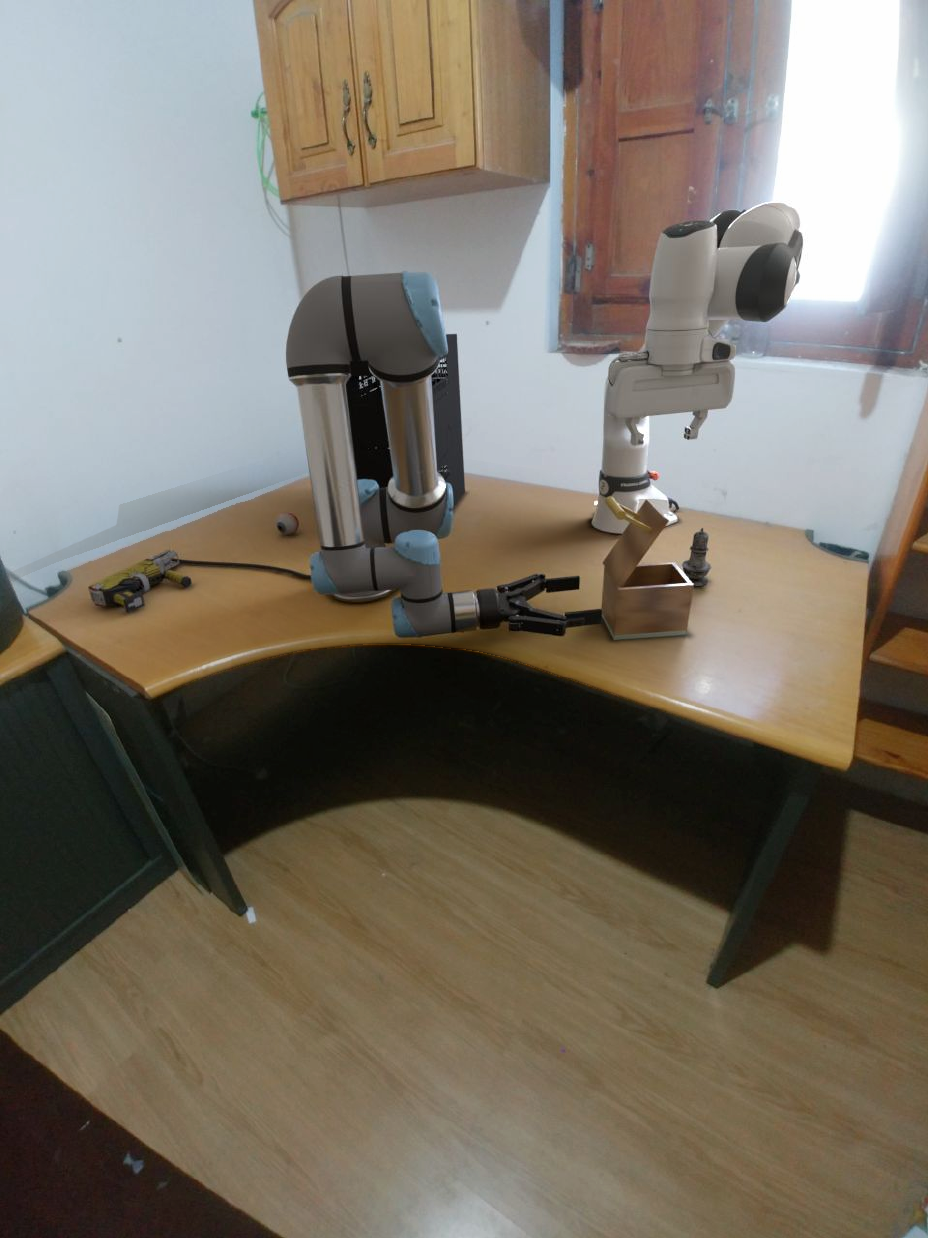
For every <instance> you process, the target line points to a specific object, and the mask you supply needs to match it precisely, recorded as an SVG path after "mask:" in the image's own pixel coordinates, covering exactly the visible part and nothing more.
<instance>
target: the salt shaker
mask: <svg viewBox="0 0 928 1238" xmlns="http://www.w3.org/2000/svg"><path fill="white" fill-rule="evenodd" d="M708 543H709V534H708V533H707V532H706V531H705V529H704V527H701V528H700V530H699V531H697V532H695V533H694V534H693V539H692V545H691V546H690V547H689V549H690V556H689V558H688V559H685V560H684V561H683V562H682V563H681V566H682V571H683V573H684V574H685V575H686V576H687V577H688V578H689V580H690V581H691V582H692V583H693V584H694V587H702V586H705V585H707V584H708V579H707V578H706V576H707V575H708V574H709V572H710V571H711V569H712V565H711V563H709V561H706V558H707V552H709V548H708Z"/></svg>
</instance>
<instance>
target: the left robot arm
mask: <svg viewBox="0 0 928 1238" xmlns="http://www.w3.org/2000/svg"><path fill="white" fill-rule="evenodd" d="M439 292H440V291H439V288H438V283H437V280H436V278H435V277H434V276H433V275H432V273H429V272H425V271H417V272H414V271H413V272H412V271H411V272H409V271H407V270H402V271H401V272H390V273H389V272H387V273H374V274H357V275H334V276H329V277H327V278H324V279H321V280H320V281H319V282H317V283H315V284H314V285H312V287H311V288H310V289H308V290H307V292H306V293H305V295H304V296H303V297H302V298H301V300H300V302H299V303H298V305H297V307H296V309H295V311H294V314H293V316H292V319H291V321H290V325H289V327H288V333H287V337H286V343H285V344H286V347H285V364H286V371H287V377H288V381H289V382H291V384H293V385H294V386H295V388H296V392H297V397H298V398H297V399H298V406H299V413H300V419H301V426H302V432H303V434H302V435H303V440H304V447H305V453H306V460H307V465H308V474H309V480H310V481H309V482H310V486H311V487H310V488H311V494H312V501H313V506H314V515H315V520H316V527H317V533H318V540H319V546H320V550H319V551H318V552H317V551H316V552H313V553H312V554H311V556H310V559H309V560H310V561H309V568H310V569H309V570H310V574H305V573H302V572H298V571H295V570H292V569H289V568H284V567H280V566H279V567H278V566H272V565H265V564H256V563H245V562H244V563H243V562H226V561H205V560H191V559H182V558H178V559H179V564H189V565H199V566H201V565H202V566H217V567H219V566H220V567H239V568H250V569H251V568H254V569H261V570H262V569H263V570H270V571H275V572H281V573H286V574H291V575H293V576H296V577H299V578H301V579H308V580H311V583H312V588H313V590H314V591H315V592H316V593H317V594H319V595H330V596H331V597H332V598H333V599H335V600H336V601H339V602H343V603H348V604H351V603H352V604H363V603H364V604H365V603H370V602H375V601H378V600H381V599H384V598H386V597H388V596H390V595H391V594H393V593H394V592H396V591H397V590H400V596H398V597H394V598H393V599H392V600H391V602H390V603H391V617H392V626H393V632H394V634H395V636H396V637H398V638H400V639H408V638H410V639H411V638H418V639H419V638H422V637H430V636H438V635H446V634H455V633H461V634H463V633H466V632H467V633H468V632H476V631H477V630H478V629H480V630H481V631H488V630H497V629H499V628H500V627H501V624H502V623H508V632H513V633H514V632H525V633H533V634H538V635H539V634H541V635H547V636H555V637H565V636H566V633H567V629H569V628H570V629H571V628H578V627H586V626H595V625H602V620H603V618H602V610H601V608H596V609H585V610H576V611H565V612H564V615H563V614H559V613H555V612H551V611H547V610H545V609H544V610H543V609H539V608H536V607H533V605H532V604H530V603H528V601H529V600H531V599H533V598H535V597H536V596H538V595H540V594H541V593H543V592H544V591H545V592H546V594H549V593H560V592H569V591H578V590H580V584H581V582H580V581H581V577H580V575H572V576H571V575H569V576H561V577H552V578H546V574H544V573H534V574H531V575H528V576H525V577H523V578H520V579H518V580H517V579H516V580H514V581H512V582H509V583H505V584H499V585H496V588H494V587H489V588H481V589H479V588H478V589H477V590H475V592H474V591H473V589H468V590H460V591H452V592H450V591H449V592H444V591H443V577H442V576H443V575H442V559H441V553H440V546H439V540H442V539H446V538H447V537H449V535H450V534H451V532H452V528H453V523H454V522H453V521H454V509H453V491H452V486H451V484H449V483H446V482H445V481H444V479H443V477H442V476H441V474H440V473H438V472H439V471H438V472H437V463H436V447H435V430H434V414H433V398H432V382H431V375H432V374H433V373H434V372H435V371H436V370H437V368H438V367H440V364H439V357H442V356H443V355H446V354H447V353H448V346H447V339H446V334H447V333H446V329H445V321H444V316H443V310H442V304H441V297H440V293H439ZM350 361H368V366H369V369H370V371H371V373H372V374H373V375H374V376H375V377H376V378H378V379H380V384H381V391H382V398H383V405H384V412H385V419H386V426H387V433H388V440H389V447H390V454H391V461H392V468H393V477H392V478H391V479H390V481H389V484H388V487H384V488H379V485H378V484H377V482H376V481H375V480H371V479H370V480H367V479H361V480H357V473H356V465H355V457H354V449H353V440H352V432H351V424H350V416H349V408H348V400H347V392H346V383H347V381H348V380H349V379H350V377H351V370H350ZM374 376H373V377H374ZM375 377H374V378H375ZM386 544H394V545H392V546H386ZM171 561H173V563H174V562H178V560H177V558H176V557H174V558H172V559H171Z"/></svg>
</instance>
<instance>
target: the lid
mask: <svg viewBox="0 0 928 1238" xmlns="http://www.w3.org/2000/svg"><path fill="white" fill-rule="evenodd" d="M605 503H606V505H607V506H608V507H609V509H610V510H611V511H612V513H613V514H614V515H615V516H616V518H617V519H618V520H623V519H624V520H626V521H628V522H630V523H629V525H628V526H627V528H626V529H625V531H624V532H623V534H621V535H620V536H619V537H618V539H617V540H616V542H615V544H614V545H613V547H612V548H611V550H610V551H609V553H608V554H607V555H606V557H605V558H604V559H603V561H602V565H603V566H604V567H605V568H606V570H607V571H608V573H609V575H610V576H611V578H612V580H613V581H614V583H615V585H616V586H617V587H620V588H621V587H622V586H623V584H624V583H625V582H626V580H627V579H628V577H629V576H630V575H631V573H632V572H633V570H634V569H635V568H636V566H637V565H640V562H641V561H642V559H643V558H644V557H645V555H646V554H647V552H648V551H649V550H650V548H651V547H652V546H653V544H654V543H655V541H656V540H657V539H658V538H659V536H660V534H661V533H662V532H663V531H664V529H665V528H666V527H667V526H668V525H667V523H668V522H669V520H668V519H667V518H666V517H665V516H664V515H663V514H662V513H661V512H660V510H659V509H658V508H657V507H656V506H655V505H654V504H653V503H652V502H651V501H649V500H647V499H646V500H645V502H644V503H643V504H642V506H641V507H640V509H639V510H638V512H637V513H636V512H634V511H632V510H630V509H628V508H626V507H624V506H622V505H621V504H619V503H617V502H616V501H615V499H614V498H613V497H611V496H609V497H607V498H606V499H605ZM625 512H626V513H628V514H630V515H631V516H633V517H634V518H631V517H629V516H627V515H626V513H625ZM666 525H667V526H666Z"/></svg>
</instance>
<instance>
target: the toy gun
mask: <svg viewBox="0 0 928 1238" xmlns="http://www.w3.org/2000/svg"><path fill="white" fill-rule="evenodd" d="M172 558H176V559H177V560H178V562H173V561H171V559H172ZM179 559H180V558H179V554H178V552H177V551H176V550H172V551H171V549H166V550H165V551H163V552H159V554H155V555H154V556H152V557H150V558H145V559H144V560H141V561H138V562H137V563H135V564H133V565H131V566H130V565H129V567H128V566H127V567H126V568H124V569H122V570H120V571H118V572H116V573H113V574H111V575H109V576H107V577H105V578H103V579H100V580H98V581H97V582H94V583H92V584H90V585H88V588H87V589H88V592H89V595H90V600H91V602H92V604H94V605H95V607H99V608H103V607H112V606H117V605H121V606H123V607H124V609H125V612H126V613H128V614H129V613H131V612H133V611H136V610H138V609H140V608H143V607H145V605H146V604H145V600H144V595H143V594H145V593H146V592H149V591H150V589H151V587H152V586H154V585H156V584H159V583H161V582H163V581H164V580H166V581H169V582H171V583H174V584H177V585H181V586H182V588H188V587H190V586H191V585H192V582H193V581H192V578H191V577H190V576H186V575H184V574H181V573H178V572H177V571H174V570H172V569H173V568H175V567H177V566H179V565H180V563H179Z"/></svg>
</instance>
